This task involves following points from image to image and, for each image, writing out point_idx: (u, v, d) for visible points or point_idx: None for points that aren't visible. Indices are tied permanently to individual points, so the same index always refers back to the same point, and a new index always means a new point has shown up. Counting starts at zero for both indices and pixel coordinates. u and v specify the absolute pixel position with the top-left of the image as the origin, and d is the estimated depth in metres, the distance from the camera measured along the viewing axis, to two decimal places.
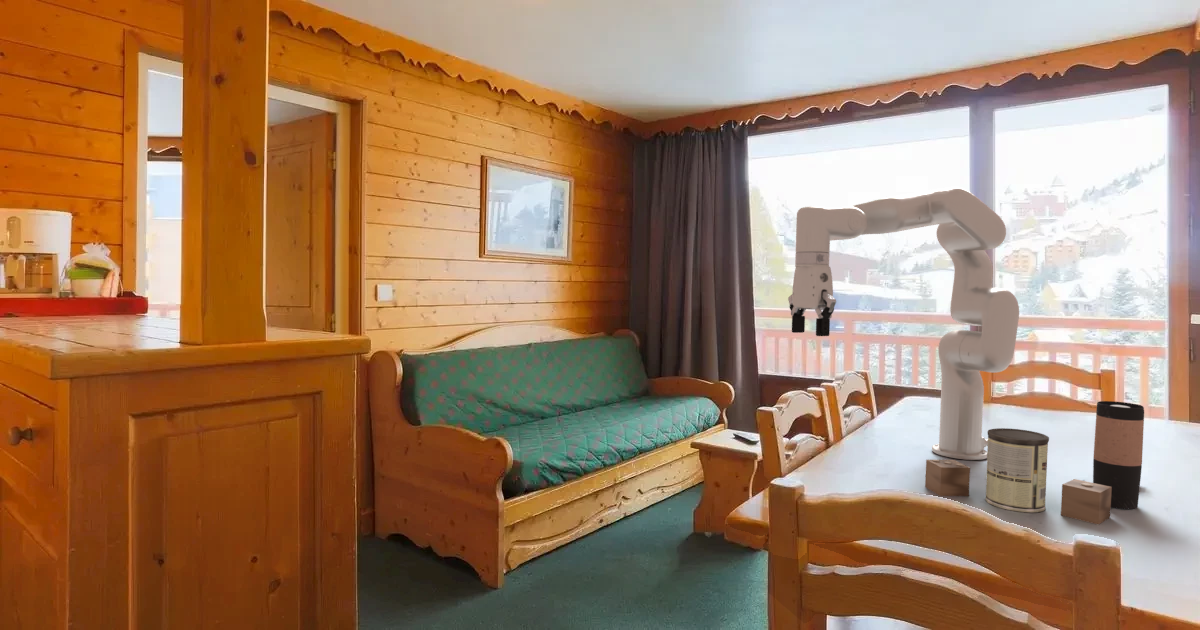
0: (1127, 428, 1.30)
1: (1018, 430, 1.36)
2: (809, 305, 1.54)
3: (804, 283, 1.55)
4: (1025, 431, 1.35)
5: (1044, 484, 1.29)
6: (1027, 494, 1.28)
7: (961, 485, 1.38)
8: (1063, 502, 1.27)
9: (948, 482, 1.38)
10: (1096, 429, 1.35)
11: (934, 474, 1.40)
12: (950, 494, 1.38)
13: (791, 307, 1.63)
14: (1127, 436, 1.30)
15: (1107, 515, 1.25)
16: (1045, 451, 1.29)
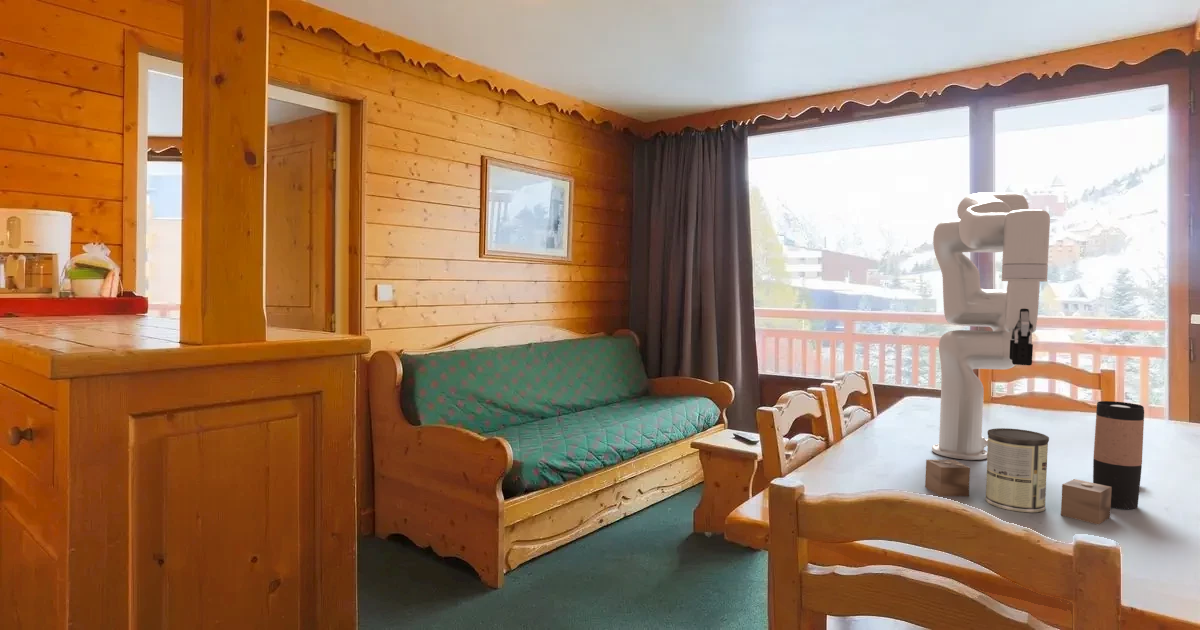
0: (1127, 428, 1.30)
1: (1018, 430, 1.36)
2: (1033, 326, 1.33)
3: None
4: (1025, 431, 1.35)
5: (1044, 484, 1.29)
6: (1027, 494, 1.28)
7: (961, 485, 1.38)
8: (1063, 502, 1.27)
9: (948, 482, 1.38)
10: (1096, 429, 1.35)
11: (934, 474, 1.40)
12: (950, 494, 1.38)
13: None
14: (1127, 436, 1.30)
15: (1107, 515, 1.25)
16: (1045, 451, 1.29)
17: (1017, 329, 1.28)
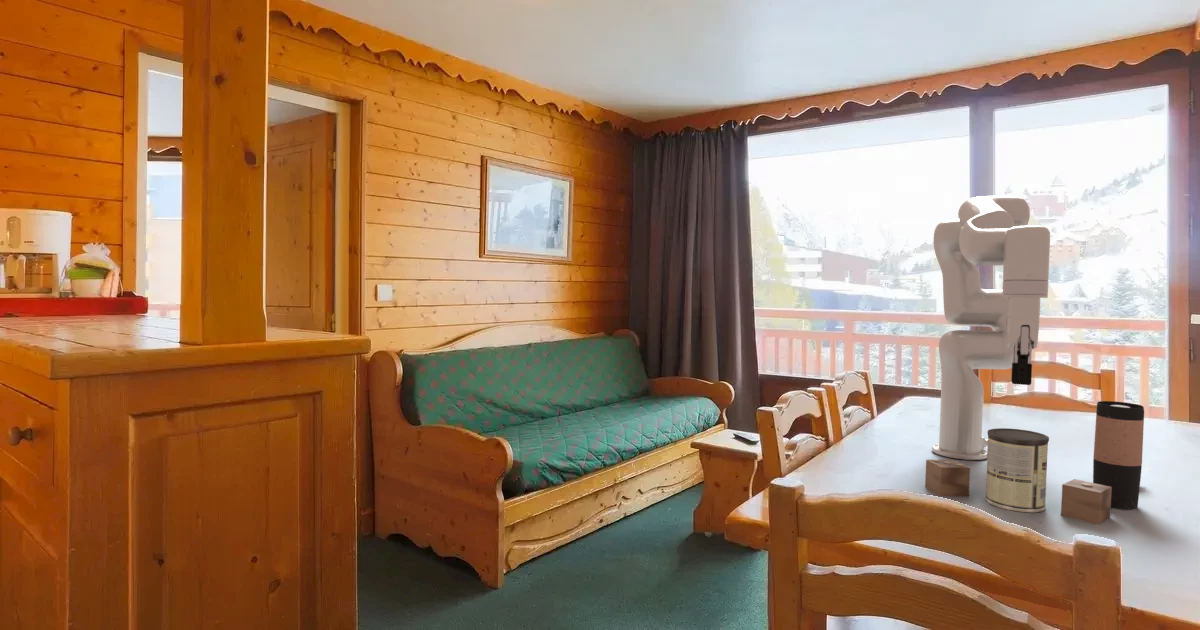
0: (1127, 428, 1.30)
1: (1018, 430, 1.36)
2: (1034, 342, 1.33)
3: None
4: (1025, 431, 1.35)
5: (1044, 484, 1.29)
6: (1027, 494, 1.28)
7: (961, 485, 1.38)
8: (1063, 502, 1.27)
9: (948, 482, 1.38)
10: (1096, 429, 1.35)
11: (934, 474, 1.40)
12: (950, 494, 1.38)
13: None
14: (1127, 436, 1.30)
15: (1107, 515, 1.25)
16: (1045, 451, 1.29)
17: (1017, 350, 1.30)
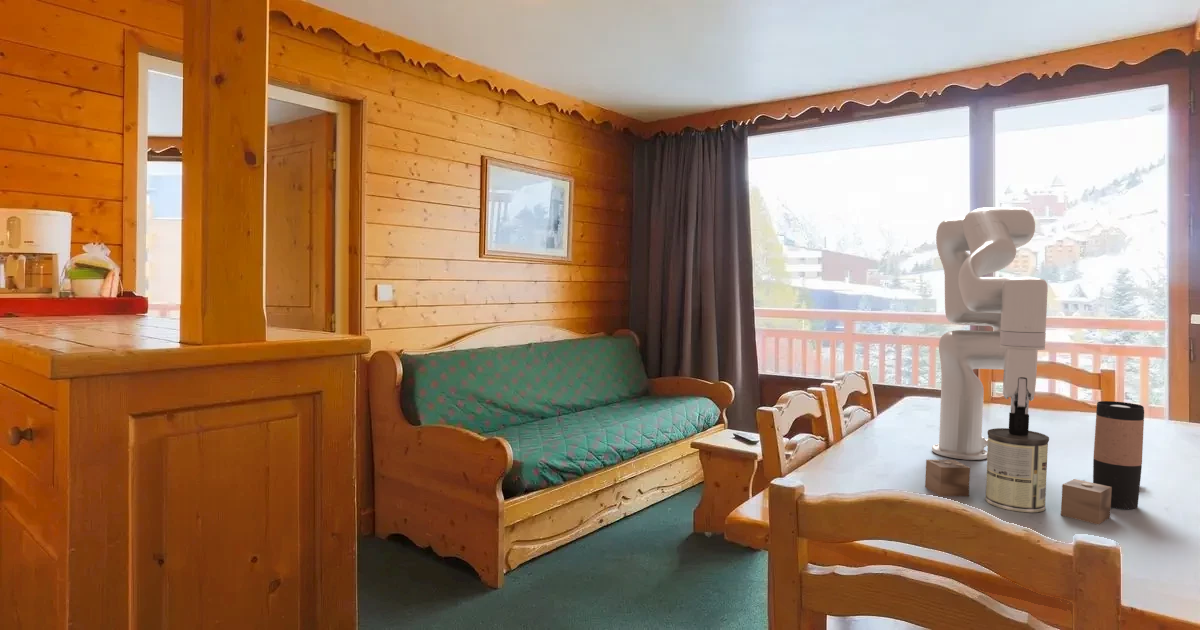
0: (1127, 428, 1.30)
1: None
2: None
3: None
4: None
5: (1044, 484, 1.29)
6: (1027, 494, 1.28)
7: (961, 485, 1.38)
8: (1063, 502, 1.27)
9: (948, 482, 1.38)
10: (1096, 429, 1.35)
11: (934, 474, 1.40)
12: (950, 494, 1.38)
13: None
14: (1127, 436, 1.30)
15: (1107, 515, 1.25)
16: (1045, 451, 1.29)
17: (1014, 401, 1.31)
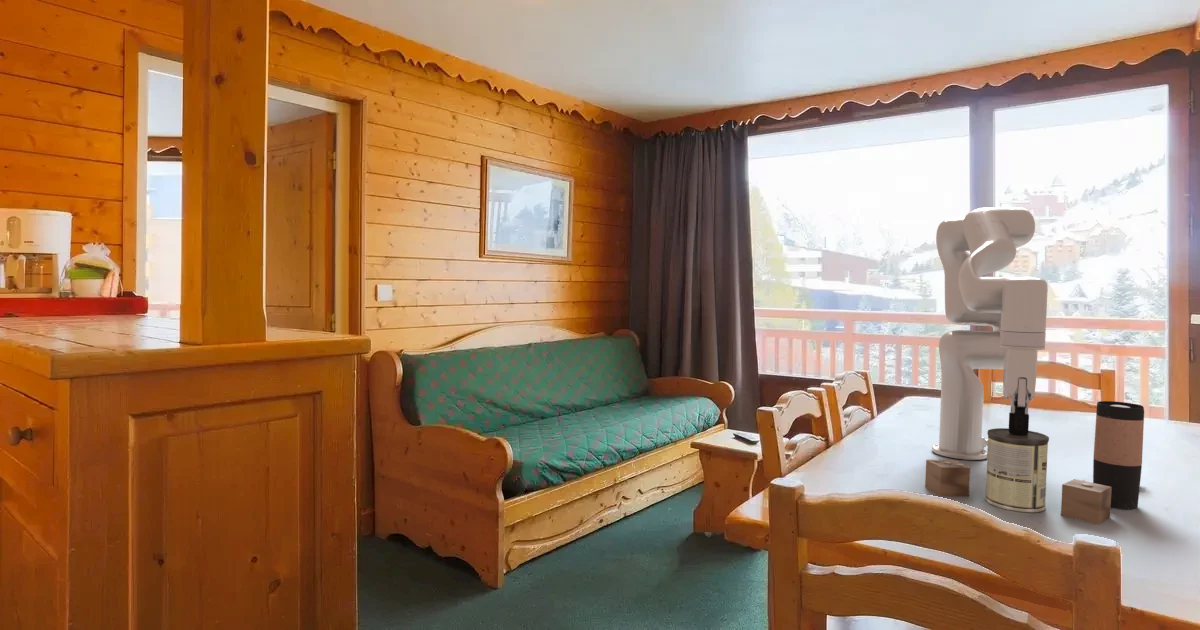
0: (1127, 428, 1.30)
1: None
2: None
3: None
4: None
5: (1044, 484, 1.29)
6: (1027, 494, 1.28)
7: (961, 485, 1.38)
8: (1063, 502, 1.27)
9: (948, 482, 1.38)
10: (1096, 429, 1.35)
11: (934, 474, 1.40)
12: (950, 494, 1.38)
13: None
14: (1127, 436, 1.30)
15: (1107, 515, 1.25)
16: (1045, 451, 1.29)
17: (1014, 401, 1.31)
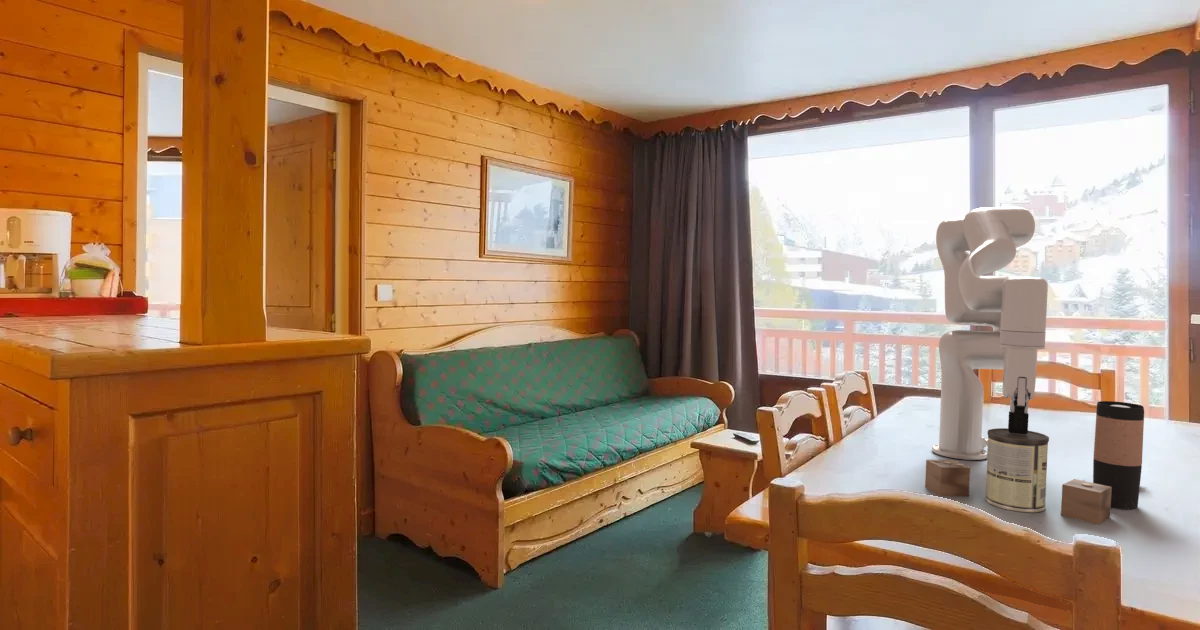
0: (1127, 428, 1.30)
1: None
2: None
3: None
4: None
5: (1044, 484, 1.29)
6: (1027, 494, 1.28)
7: (961, 485, 1.38)
8: (1063, 502, 1.27)
9: (948, 482, 1.38)
10: (1096, 429, 1.35)
11: (934, 474, 1.40)
12: (950, 494, 1.38)
13: None
14: (1127, 436, 1.30)
15: (1107, 515, 1.25)
16: (1045, 451, 1.29)
17: (1014, 400, 1.31)
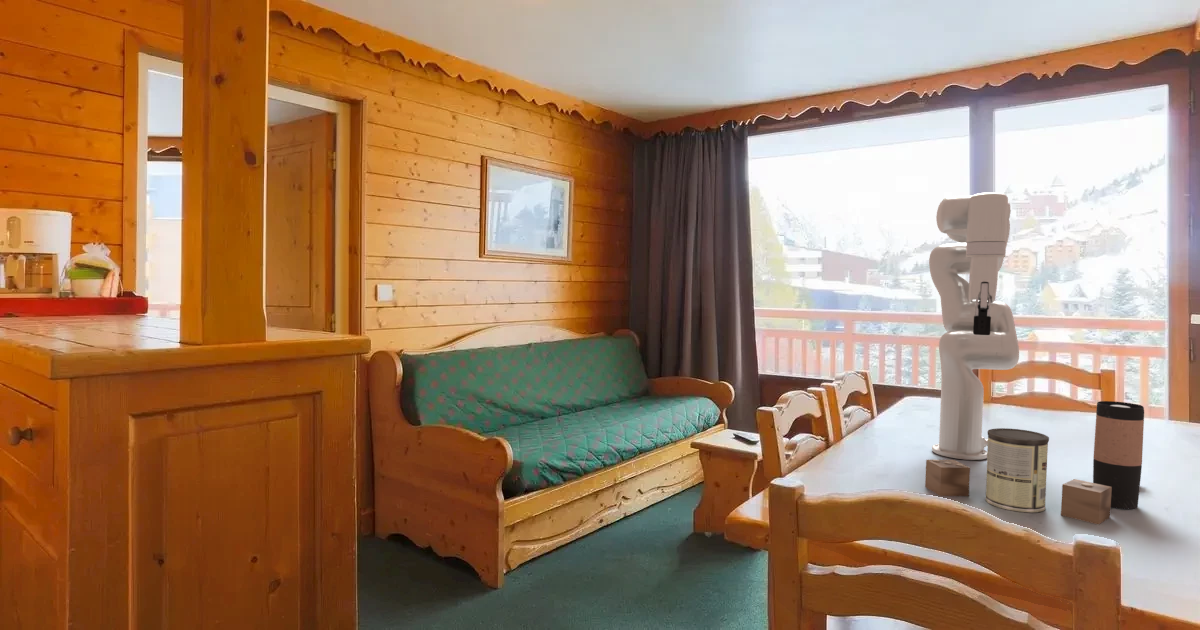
0: (1127, 428, 1.30)
1: (1018, 430, 1.36)
2: None
3: None
4: (1025, 431, 1.35)
5: (1044, 484, 1.29)
6: (1027, 494, 1.28)
7: (961, 485, 1.38)
8: (1063, 502, 1.27)
9: (948, 482, 1.38)
10: (1096, 429, 1.35)
11: (934, 474, 1.40)
12: (950, 494, 1.38)
13: None
14: (1127, 436, 1.30)
15: (1107, 515, 1.25)
16: (1045, 451, 1.29)
17: (978, 304, 1.46)
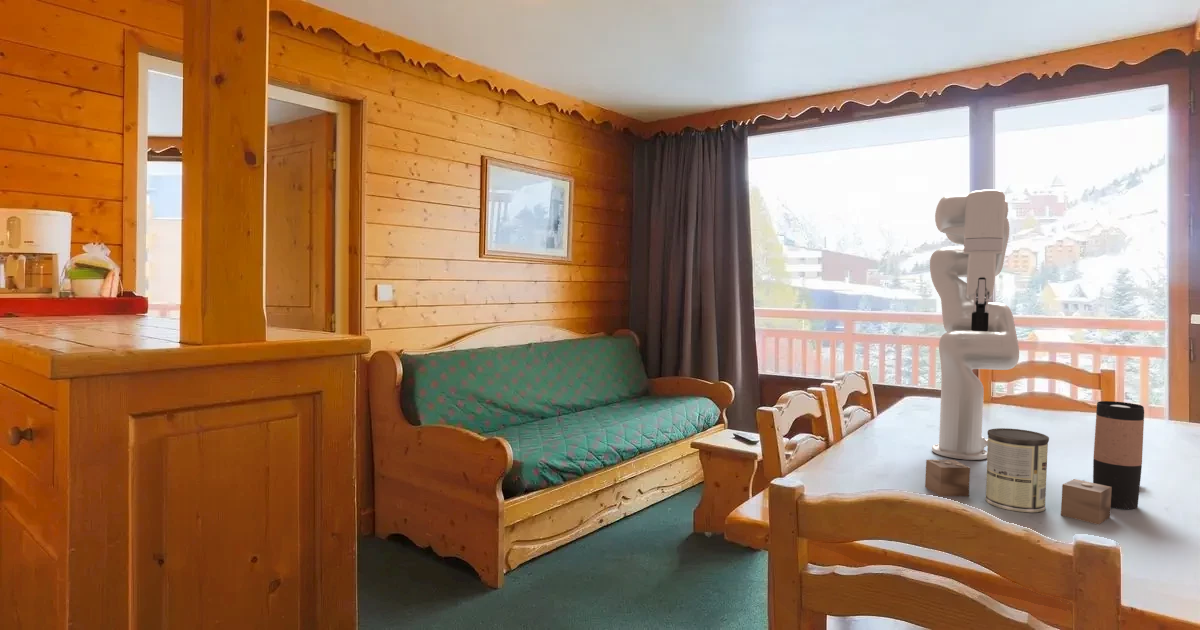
0: (1127, 428, 1.30)
1: (1018, 430, 1.36)
2: None
3: None
4: (1025, 431, 1.35)
5: (1044, 484, 1.29)
6: (1027, 494, 1.28)
7: (961, 485, 1.38)
8: (1063, 502, 1.27)
9: (948, 482, 1.38)
10: (1096, 429, 1.35)
11: (934, 474, 1.40)
12: (950, 494, 1.38)
13: None
14: (1127, 436, 1.30)
15: (1107, 515, 1.25)
16: (1045, 451, 1.29)
17: (975, 300, 1.47)
